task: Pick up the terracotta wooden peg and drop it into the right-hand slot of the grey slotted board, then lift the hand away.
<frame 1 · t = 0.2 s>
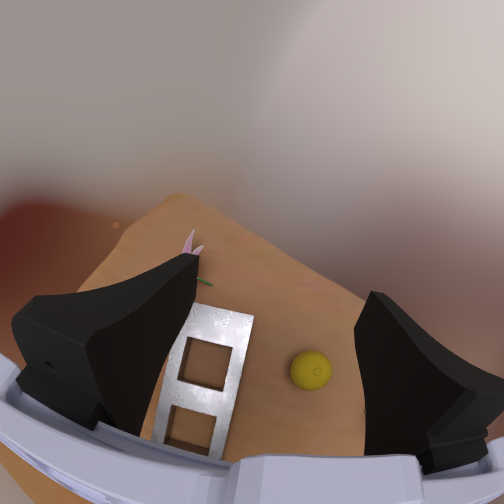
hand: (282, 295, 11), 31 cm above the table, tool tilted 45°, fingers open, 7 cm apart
lemon: (304, 369, 39), on the table
grey slotted board: (200, 395, 37), on the table
lily: (189, 278, 44), on the table
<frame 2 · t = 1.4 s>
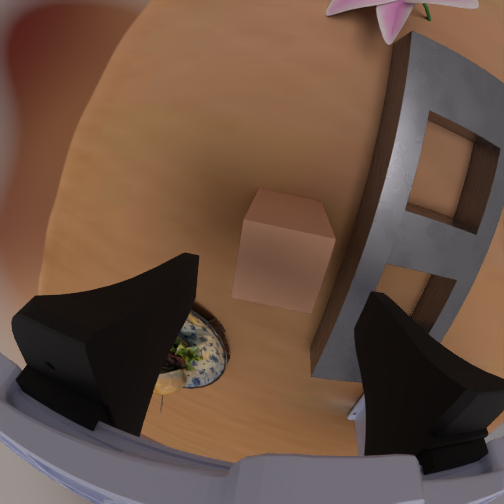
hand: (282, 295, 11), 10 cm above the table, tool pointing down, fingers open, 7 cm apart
grey slotted board: (415, 229, 19), on the table
burger: (173, 337, 27), on the table
peg: (283, 224, 20), on the table
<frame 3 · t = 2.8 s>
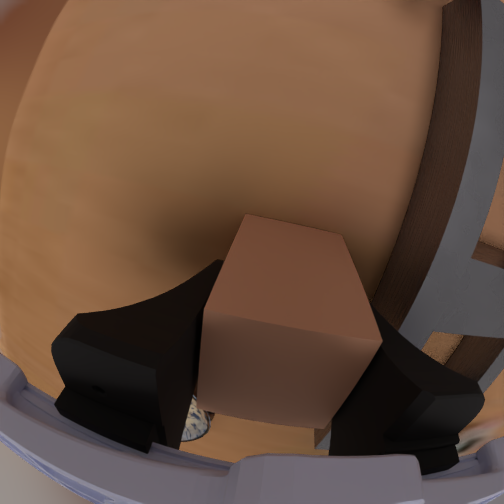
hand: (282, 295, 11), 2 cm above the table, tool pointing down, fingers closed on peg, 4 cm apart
grey slotted board: (464, 269, 12), on the table
burger: (146, 388, 20), on the table
peg: (283, 266, 14), on the table, touching gripper
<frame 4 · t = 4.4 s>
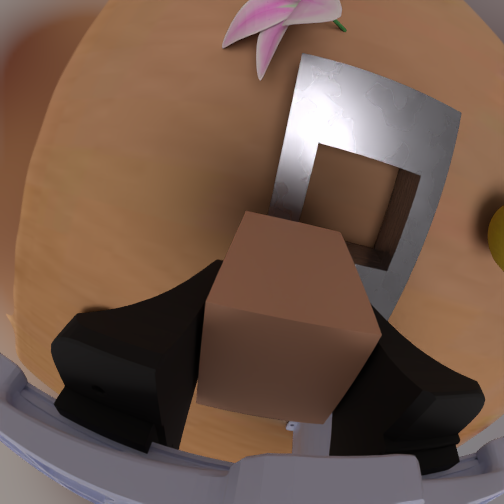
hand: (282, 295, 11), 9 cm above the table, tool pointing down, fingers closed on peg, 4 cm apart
lemon: (492, 221, 18), on the table
grey slotted board: (326, 260, 21), on the table
lily: (287, 16, 14), on the table
peg: (283, 263, 14), point 7 cm above the table, touching gripper
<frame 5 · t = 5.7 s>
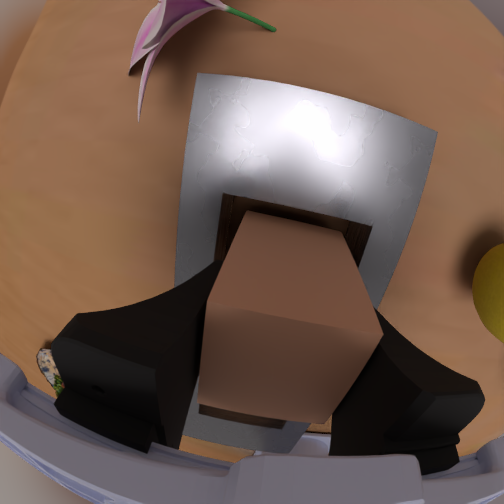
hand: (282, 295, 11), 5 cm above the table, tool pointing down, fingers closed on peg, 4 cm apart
lemon: (482, 260, 15), on the table
grey slotted board: (266, 314, 18), on the table
burger: (82, 376, 26), on the table
lily: (202, 22, 11), on the table
peg: (283, 263, 14), point 2 cm above the table, touching gripper
when the fingers open (4 cm above the table, at t = 6.3 s): peg drops 2 cm, resting in grey slotted board.
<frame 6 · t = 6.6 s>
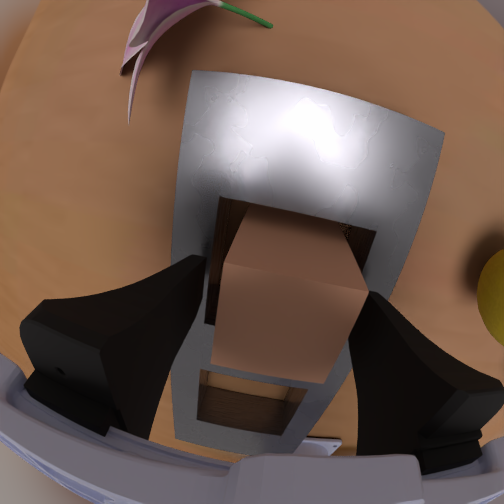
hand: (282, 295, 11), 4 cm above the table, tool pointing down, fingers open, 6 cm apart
lemon: (486, 264, 14), on the table
grey slotted board: (266, 320, 18), on the table
lily: (197, 20, 11), on the table
peg: (285, 246, 15), resting in grey slotted board
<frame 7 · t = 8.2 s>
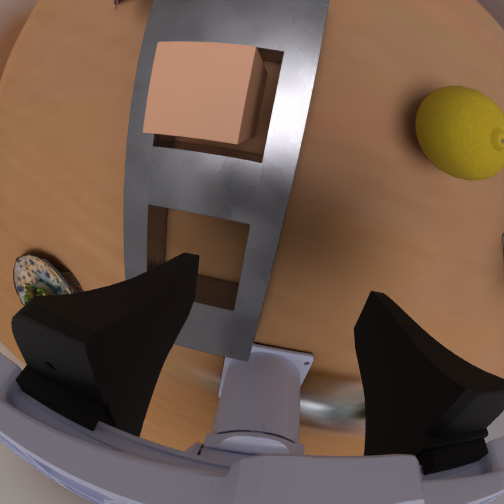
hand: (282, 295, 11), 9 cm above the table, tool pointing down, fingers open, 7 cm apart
lemon: (430, 127, 16), on the table
grey slotted board: (215, 172, 19), on the table
burger: (53, 292, 27), on the table
peg: (227, 99, 17), resting in grey slotted board
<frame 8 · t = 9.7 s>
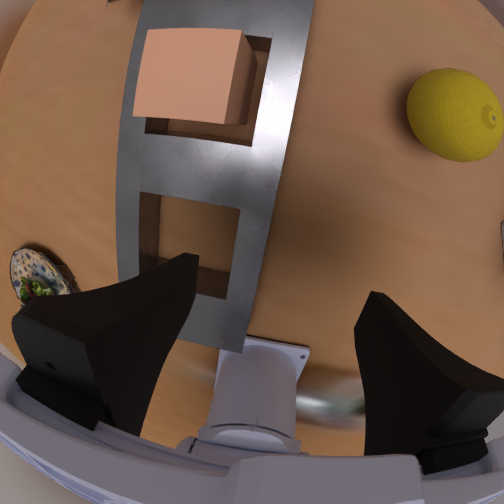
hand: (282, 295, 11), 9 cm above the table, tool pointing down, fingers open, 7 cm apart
lemon: (423, 114, 15), on the table
grey slotted board: (206, 161, 19), on the table
burger: (49, 287, 27), on the table
peg: (219, 88, 17), resting in grey slotted board
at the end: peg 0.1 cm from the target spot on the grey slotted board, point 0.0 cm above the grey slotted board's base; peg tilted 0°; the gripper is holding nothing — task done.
